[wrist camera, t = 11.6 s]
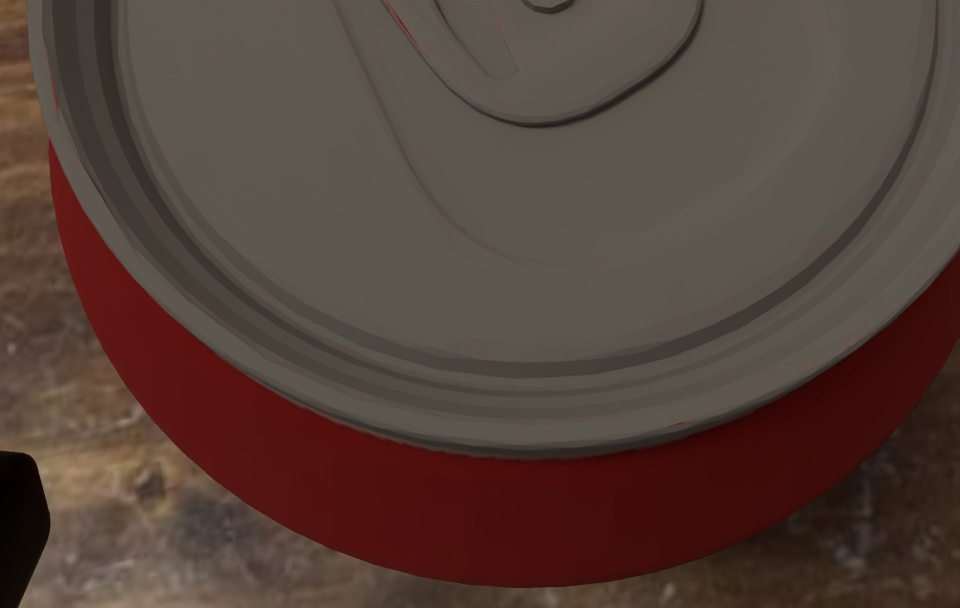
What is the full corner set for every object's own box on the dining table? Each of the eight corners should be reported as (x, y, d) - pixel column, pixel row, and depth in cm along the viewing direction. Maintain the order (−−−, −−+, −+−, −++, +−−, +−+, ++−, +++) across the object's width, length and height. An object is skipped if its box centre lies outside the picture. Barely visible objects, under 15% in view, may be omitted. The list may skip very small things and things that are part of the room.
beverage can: (456, 634, 15) (306, 970, 3) (258, 315, 17) (-307, -194, 5) (770, 414, 16) (1497, 89, 4) (555, 129, 17) (661, -683, 6)
